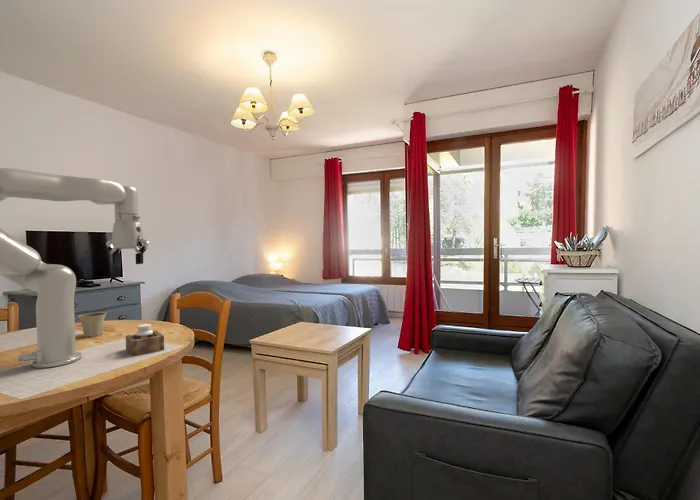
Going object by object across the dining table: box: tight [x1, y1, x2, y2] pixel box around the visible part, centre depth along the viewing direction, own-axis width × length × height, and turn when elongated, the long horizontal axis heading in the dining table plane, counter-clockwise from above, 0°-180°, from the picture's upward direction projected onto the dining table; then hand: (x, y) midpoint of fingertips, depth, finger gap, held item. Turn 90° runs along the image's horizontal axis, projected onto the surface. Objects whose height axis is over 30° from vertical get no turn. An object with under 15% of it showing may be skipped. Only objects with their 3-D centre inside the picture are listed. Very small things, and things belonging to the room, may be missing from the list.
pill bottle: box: [135, 323, 154, 340], centre depth 127 cm, size 5×5×9 cm
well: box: [125, 330, 165, 357], centre depth 127 cm, size 10×10×5 cm
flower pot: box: [78, 311, 107, 338], centre depth 147 cm, size 9×9×9 cm
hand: (128, 263), depth 135 cm, fingers open, 9 cm apart
